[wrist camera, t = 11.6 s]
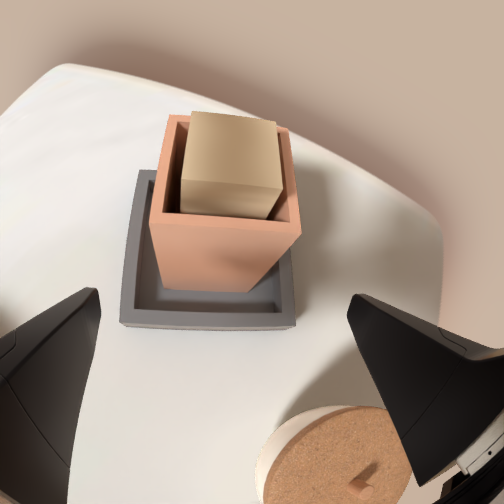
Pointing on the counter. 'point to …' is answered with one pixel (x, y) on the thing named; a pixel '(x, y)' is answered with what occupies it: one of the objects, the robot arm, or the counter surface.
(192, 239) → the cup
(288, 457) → the lidded jar
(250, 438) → the counter surface
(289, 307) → the tray
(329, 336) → the counter surface
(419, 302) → the counter surface
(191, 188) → the block top
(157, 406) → the counter surface
